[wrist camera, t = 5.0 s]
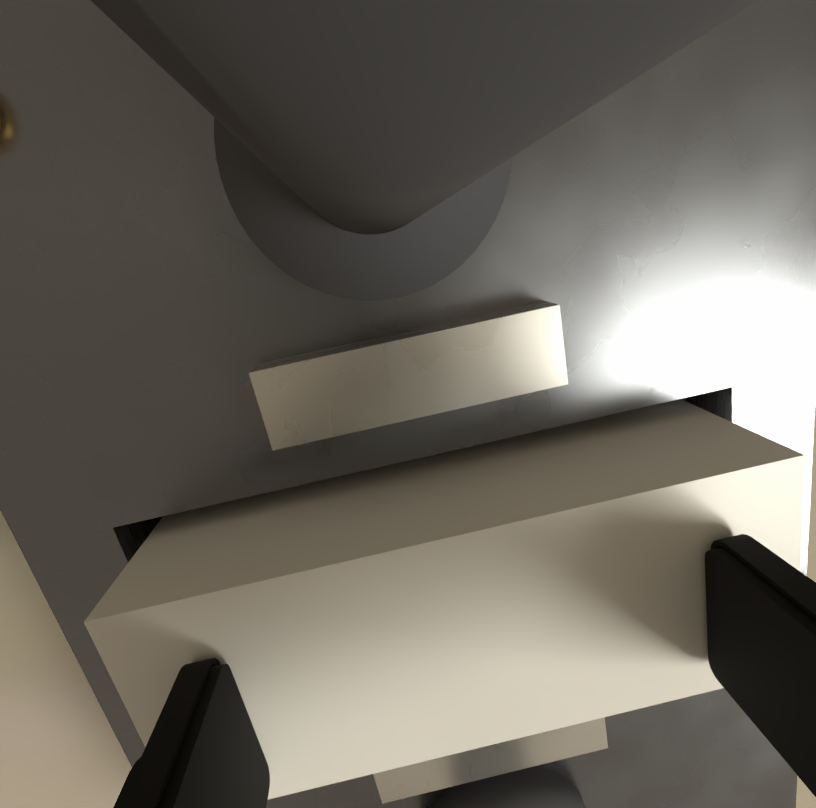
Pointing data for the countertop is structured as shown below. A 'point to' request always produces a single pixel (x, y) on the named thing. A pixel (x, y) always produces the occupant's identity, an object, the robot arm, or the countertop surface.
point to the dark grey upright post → (393, 113)
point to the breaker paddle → (453, 590)
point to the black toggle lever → (515, 791)
